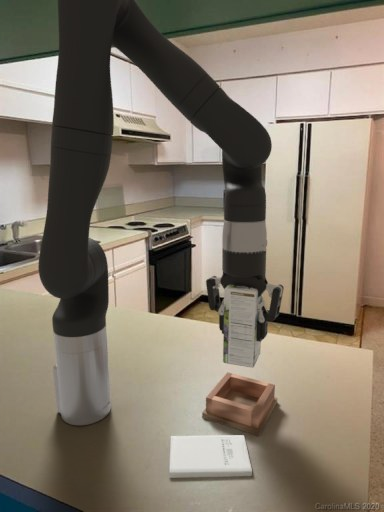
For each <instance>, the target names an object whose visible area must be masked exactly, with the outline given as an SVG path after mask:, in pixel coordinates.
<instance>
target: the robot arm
mask: <svg viewBox="0 0 384 512" xmlns="http://www.w3.org/2000/svg"><path fill="white" fill-rule="evenodd" d="M57 18H58V20H57V22H58V57H57V70H56V77H55V86H54V88H55V89H54V100H53V103H54V104H53V113H52V121H51V125H52V126H51V133H50V134H51V137H50V163H49V165H50V167H49V178H48V191H47V193H48V194H47V205H46V215H45V221H44V223H45V224H44V227H43V228H44V229H43V234H42V238H41V239H42V240H41V245H40V251H39V254H38V255H39V257H38V268H37V269H38V275H39V279H40V282H41V284H42V286H43V288H44V289H45V290H46V291H47V293H49V294H50V295H52V296H53V297H55V298H57V299H59V301H58V305H57V307H56V309H55V310H54V312H53V314H52V317H51V318H52V319H51V321H52V323H51V324H52V332H53V342H54V351H55V352H54V353H55V363H56V364H54V365H53V367H52V371H53V381H54V390H55V391H54V392H55V401H56V412H57V413H59V414H60V415H61V419H62V420H63V421H64V422H65V423H67V424H69V425H72V426H88V425H92V424H95V423H97V422H100V421H102V420H103V419H104V418H105V417H107V415H109V413H110V412H111V408H112V404H111V403H112V402H111V401H112V399H111V384H110V369H109V368H110V366H109V365H110V364H109V349H108V336H107V335H108V334H107V320H106V319H107V311H108V308H109V300H110V299H109V296H110V295H109V266H108V265H109V264H108V258H107V255H106V253H105V250H104V249H103V247H102V245H100V243H98V241H96V240H95V239H93V238H91V237H90V227H91V219H92V215H93V212H94V209H95V206H96V204H97V202H98V198H99V196H100V195H101V194H100V193H101V191H102V189H103V187H104V184H105V181H106V179H107V175H108V172H109V170H110V169H109V168H110V164H111V160H112V148H113V140H114V129H115V128H114V124H115V123H114V121H115V120H114V117H115V116H114V101H113V90H112V78H111V77H112V76H111V54H112V46H113V47H114V48H115V49H117V50H118V51H119V52H120V53H122V55H124V56H125V57H126V58H127V59H129V60H130V61H131V63H133V65H135V66H136V67H137V68H138V69H139V70H140V71H141V72H142V73H143V74H145V76H146V77H147V79H148V80H149V81H150V82H152V84H153V86H154V85H155V87H156V88H157V89H158V90H159V91H160V93H161V94H162V95H163V96H164V97H165V98H166V100H168V102H170V103H171V105H173V106H174V107H175V108H176V110H177V111H178V112H180V113H181V114H182V115H183V117H184V118H185V119H187V120H188V122H190V124H192V125H193V126H194V128H196V129H197V130H199V131H200V132H202V133H205V134H206V135H207V136H208V137H209V138H210V139H211V140H212V141H213V142H214V143H215V144H216V145H217V146H218V147H219V148H220V149H221V159H222V160H221V161H222V162H221V163H222V177H223V183H224V196H223V197H224V199H223V200H224V201H223V226H222V234H221V237H222V243H221V244H222V245H221V246H222V249H221V250H222V265H221V266H222V267H221V268H222V276H221V277H219V276H218V277H217V276H216V275H212V276H210V277H209V278H207V279H205V280H206V281H205V285H206V293H207V299H208V307H209V310H210V311H215V312H217V313H218V317H219V318H218V323H219V325H218V326H219V327H218V328H219V331H221V334H222V335H224V298H223V299H222V301H221V298H220V297H221V296H220V288H221V286H222V288H223V290H224V291H225V288H226V287H227V286H228V285H231V286H237V285H240V286H245V287H244V288H247V289H250V288H254V289H257V290H258V298H259V297H260V296H261V301H260V303H259V304H258V303H257V318H258V322H257V337H256V340H257V341H259V342H262V341H263V340H264V339H265V338H266V337H267V335H268V327H269V326H268V322H274V321H275V320H276V318H277V317H279V315H280V310H281V304H282V299H283V295H284V294H283V293H284V285H283V284H278V285H275V284H271V283H269V282H268V281H267V278H266V277H267V276H266V273H267V272H266V271H267V269H266V268H267V246H268V239H267V237H268V235H267V223H266V219H267V218H266V217H267V195H266V194H267V193H266V190H265V188H264V186H263V183H262V181H263V179H262V165H263V164H264V163H266V161H267V160H268V159H269V158H270V155H271V153H272V147H273V146H272V144H273V143H272V138H271V136H270V134H269V132H268V130H267V129H266V127H265V126H264V125H263V124H262V122H260V121H259V120H258V118H256V117H255V116H253V115H252V114H251V113H250V112H248V111H247V110H246V109H245V108H244V107H242V106H241V105H240V104H239V103H238V102H236V101H234V100H233V99H232V98H231V97H230V96H229V95H228V94H227V93H226V92H225V90H224V89H223V88H222V87H221V86H220V84H218V83H217V82H216V81H215V79H214V78H213V77H212V76H211V75H210V74H209V73H208V72H207V71H206V70H205V69H204V68H203V67H202V66H201V65H200V64H199V63H197V61H195V60H194V59H193V58H192V57H191V56H189V55H188V54H187V53H186V52H184V50H182V49H181V48H179V47H178V46H177V45H176V44H174V43H173V42H171V41H170V40H169V39H168V38H167V37H166V36H165V35H164V34H162V32H161V31H160V30H159V29H158V28H157V27H156V26H155V25H154V24H153V23H152V22H151V21H150V20H149V19H148V17H147V16H146V15H145V13H144V12H143V10H142V9H141V8H140V7H139V4H138V3H137V2H136V0H57ZM265 291H267V293H268V296H269V298H270V304H269V311H268V309H267V307H266V302H265V298H264V296H263V297H262V294H263V295H264V293H265Z"/></svg>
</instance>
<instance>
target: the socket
mask: <svg viewBox="0 0 384 512" xmlns="http://www.w3.org/2000/svg"><path fill="white" fill-rule="evenodd" d="M275 389H276V384H273V383H269V382H266V381H263V380H262V381H261V380H258V379H254V378H249V377H246V376H243V375H239V374H235V373H232V372H228V371H227V372H226V373H225V374H224V376H223V377H222V378H221V379H220V381H218V382H217V384H216V385H214V388H212V389H211V391H210V392H209V393H208V394H207V395H206V397H205V408H204V410H203V411H202V412H201V417H202V418H203V419H206V420H209V421H212V422H215V423H218V424H222V425H224V426H228V427H230V428H233V429H237V430H240V431H243V432H246V433H248V434H251V435H255V436H257V437H260V436H261V434H262V432H263V430H264V428H265V426H266V425H267V422H268V421H269V419H270V417H271V415H272V413H273V411H274V409H275V407H276V405H277V404H278V397H276V396H275Z"/></svg>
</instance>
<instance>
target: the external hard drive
mask: <svg viewBox="0 0 384 512" xmlns="http://www.w3.org/2000/svg"><path fill="white" fill-rule="evenodd" d="M169 450H170V451H169V473H168V474H169V475H168V478H169V479H174V478H175V479H177V478H179V479H181V478H216V477H217V478H219V477H222V478H223V477H252V476H253V469H252V465H251V460H250V456H249V451H248V447H247V442H246V437H245V435H244V434H242V435H241V434H240V435H239V434H238V435H236V434H235V435H233V434H231V435H230V434H228V435H171V436H170V449H169Z"/></svg>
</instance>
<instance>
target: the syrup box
mask: <svg viewBox="0 0 384 512" xmlns="http://www.w3.org/2000/svg"><path fill="white" fill-rule="evenodd" d="M244 287H245V286H240V285H237V286H231V285H228V286H227V287H226V288H225V290H224V292H223V293H224V297H223V299H224V334H223V341H222V342H223V343H222V345H223V346H222V347H223V350H222V362H223V363H224V364H228V365H233V366H238V367H239V366H240V367H245V368H253V369H254V368H255V365H256V363H257V361H258V359H259V356H260V355H261V347H262V346H261V344H262V343H261V342H262V341H261V342H259V341H257V340H256V337H257V322H258V318H257V303H258V304H259V303H260V301H261V296H260V297H259V298H258V290H257V289H254V288H250V289H247V288H244ZM263 295H264V293H263V294H262V297H263V298H264V296H263Z"/></svg>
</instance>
